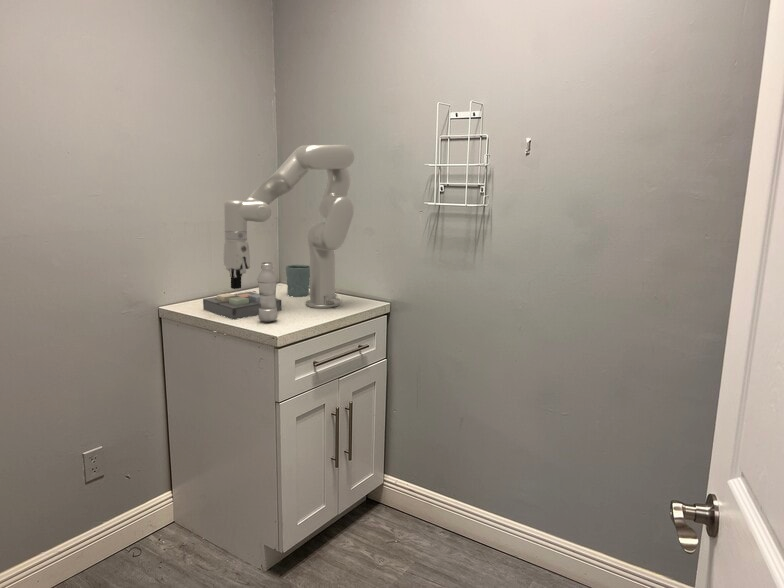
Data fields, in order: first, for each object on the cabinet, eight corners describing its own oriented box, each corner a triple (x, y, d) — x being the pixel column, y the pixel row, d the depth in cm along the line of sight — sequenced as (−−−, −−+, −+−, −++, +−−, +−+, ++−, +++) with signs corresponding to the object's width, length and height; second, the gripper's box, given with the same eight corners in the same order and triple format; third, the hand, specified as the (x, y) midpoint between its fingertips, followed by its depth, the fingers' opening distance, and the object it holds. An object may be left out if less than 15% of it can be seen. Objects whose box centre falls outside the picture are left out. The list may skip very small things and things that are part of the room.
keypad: (281, 310, 213) (281, 299, 212) (233, 319, 199) (233, 308, 198) (250, 301, 226) (250, 291, 226) (203, 309, 212) (203, 298, 211)
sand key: (236, 302, 212) (236, 295, 211) (224, 304, 208) (224, 297, 208) (229, 299, 215) (228, 293, 215) (216, 301, 212) (216, 295, 211)
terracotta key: (255, 302, 218) (255, 295, 217) (243, 304, 214) (243, 297, 214) (247, 299, 221) (247, 293, 221) (236, 301, 218) (236, 295, 217)
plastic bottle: (254, 321, 196) (252, 263, 192) (268, 318, 202) (267, 261, 198) (267, 324, 193) (266, 265, 189) (282, 320, 198) (281, 262, 194)
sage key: (249, 305, 207) (248, 298, 206) (236, 307, 203) (236, 300, 203) (241, 303, 210) (240, 296, 209) (228, 305, 206) (228, 298, 206)
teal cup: (281, 295, 240) (280, 266, 238) (299, 291, 248) (298, 263, 246) (298, 298, 234) (297, 269, 232) (316, 294, 242) (315, 266, 240)
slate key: (267, 302, 212) (267, 295, 212) (256, 304, 209) (256, 297, 208) (259, 300, 216) (259, 293, 215) (248, 302, 212) (248, 295, 212)
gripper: (257, 237, 199) (257, 290, 203) (233, 233, 209) (233, 284, 213) (238, 238, 194) (238, 292, 197) (214, 234, 204) (215, 286, 207)
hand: (236, 288), depth 205 cm, fingers closed
